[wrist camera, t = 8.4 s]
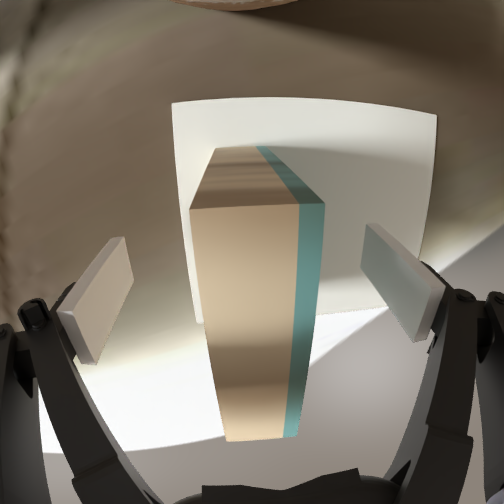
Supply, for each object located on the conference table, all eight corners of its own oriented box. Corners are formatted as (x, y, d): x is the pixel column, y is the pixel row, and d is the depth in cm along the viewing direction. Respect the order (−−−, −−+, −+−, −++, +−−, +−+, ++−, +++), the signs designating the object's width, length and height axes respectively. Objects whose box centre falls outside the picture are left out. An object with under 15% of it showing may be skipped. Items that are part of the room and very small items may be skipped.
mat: (173, 103, 16) (171, 103, 16) (431, 114, 17) (436, 115, 17) (197, 318, 23) (196, 323, 23) (403, 299, 24) (406, 303, 24)
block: (215, 148, 17) (188, 209, 6) (265, 145, 17) (325, 203, 6) (225, 290, 22) (226, 441, 11) (266, 287, 22) (296, 435, 11)
